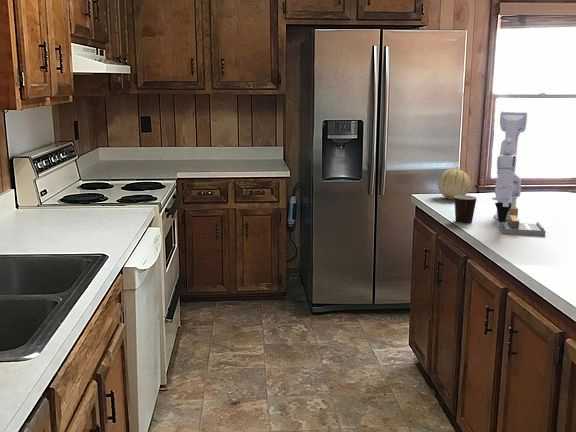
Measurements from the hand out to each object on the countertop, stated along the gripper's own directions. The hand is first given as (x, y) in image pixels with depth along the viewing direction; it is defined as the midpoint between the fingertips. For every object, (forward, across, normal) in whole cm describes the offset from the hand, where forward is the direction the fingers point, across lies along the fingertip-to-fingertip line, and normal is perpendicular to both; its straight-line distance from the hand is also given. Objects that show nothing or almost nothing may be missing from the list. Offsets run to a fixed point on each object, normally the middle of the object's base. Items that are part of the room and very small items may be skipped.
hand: (501, 221), depth 243 cm
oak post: (+3, -10, +5) cm, 12 cm away
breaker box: (+3, 0, +7) cm, 8 cm away
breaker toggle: (+1, 0, +4) cm, 5 cm away
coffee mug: (+4, -11, -14) cm, 18 cm away
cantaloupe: (+4, -60, -15) cm, 62 cm away
